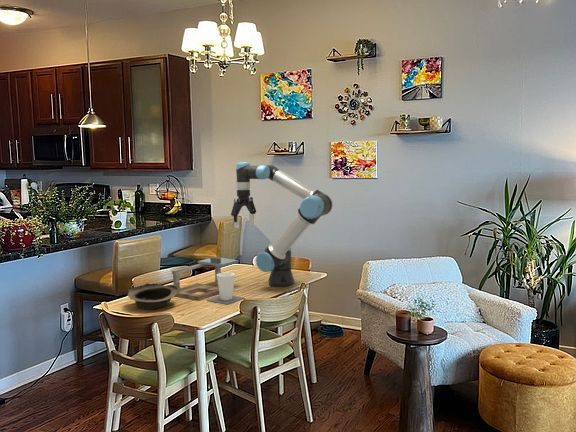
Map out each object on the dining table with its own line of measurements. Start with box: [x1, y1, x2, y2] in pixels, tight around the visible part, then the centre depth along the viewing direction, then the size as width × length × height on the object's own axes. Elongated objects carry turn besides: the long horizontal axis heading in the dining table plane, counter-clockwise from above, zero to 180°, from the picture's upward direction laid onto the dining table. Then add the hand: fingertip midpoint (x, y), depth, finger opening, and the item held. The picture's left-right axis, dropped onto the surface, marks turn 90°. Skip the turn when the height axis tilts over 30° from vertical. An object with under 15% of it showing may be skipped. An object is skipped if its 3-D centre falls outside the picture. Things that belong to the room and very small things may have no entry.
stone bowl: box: [127, 283, 178, 311], centre depth 277 cm, size 25×25×9 cm
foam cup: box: [217, 272, 236, 300], centre depth 286 cm, size 10×9×13 cm
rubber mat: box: [206, 295, 246, 305], centre depth 287 cm, size 14×14×1 cm
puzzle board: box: [171, 263, 222, 302], centre depth 307 cm, size 22×39×14 cm, turn 146°
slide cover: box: [197, 256, 240, 268], centre depth 314 cm, size 18×14×4 cm
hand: (244, 226), depth 312 cm, fingers open, 13 cm apart
